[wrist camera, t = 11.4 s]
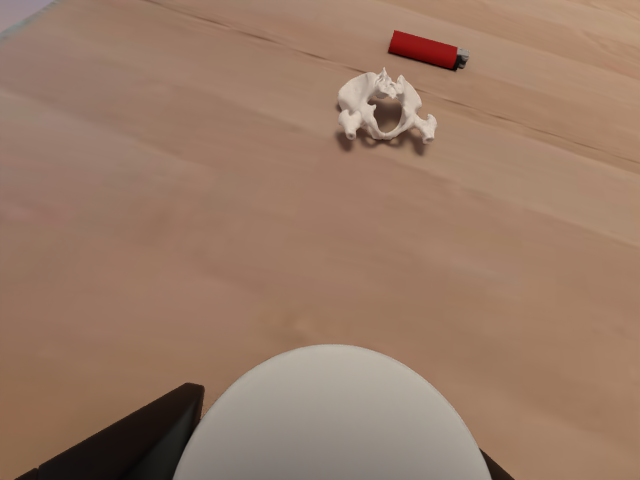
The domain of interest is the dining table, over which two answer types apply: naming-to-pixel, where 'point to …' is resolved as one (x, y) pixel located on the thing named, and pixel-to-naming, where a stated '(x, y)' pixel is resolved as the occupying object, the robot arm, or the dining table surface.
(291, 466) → the pill bottle
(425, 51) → the lighter
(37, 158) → the dining table surface
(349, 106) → the hip bone replica
